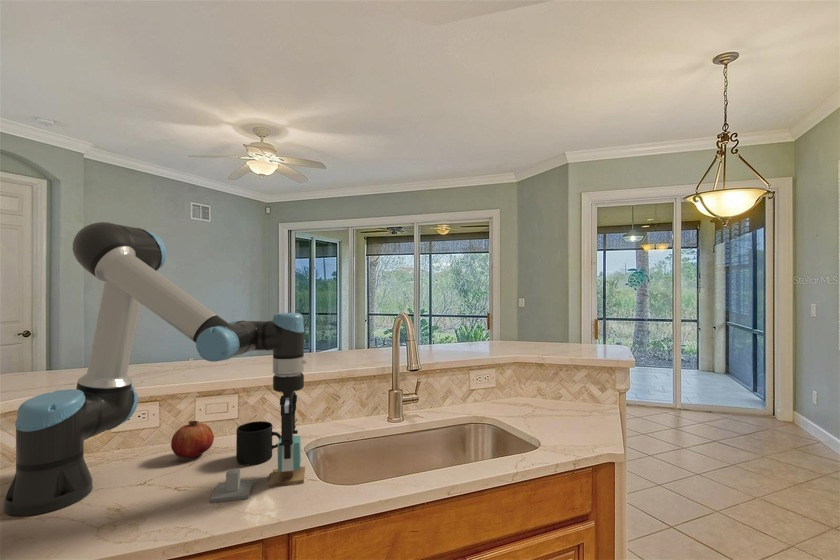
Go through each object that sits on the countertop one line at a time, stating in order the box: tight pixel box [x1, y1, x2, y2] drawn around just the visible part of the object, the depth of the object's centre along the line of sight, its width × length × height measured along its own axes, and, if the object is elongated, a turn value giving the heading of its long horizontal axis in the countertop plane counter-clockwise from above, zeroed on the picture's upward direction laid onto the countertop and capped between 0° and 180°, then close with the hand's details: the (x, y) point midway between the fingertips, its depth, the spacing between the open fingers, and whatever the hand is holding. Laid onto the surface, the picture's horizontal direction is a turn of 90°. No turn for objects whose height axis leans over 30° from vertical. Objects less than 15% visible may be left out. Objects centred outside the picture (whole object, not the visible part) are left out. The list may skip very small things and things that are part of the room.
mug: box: [235, 420, 281, 466], centre depth 119 cm, size 9×12×9 cm
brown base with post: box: [268, 466, 306, 488], centre depth 107 cm, size 8×8×7 cm
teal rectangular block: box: [277, 435, 302, 472], centre depth 107 cm, size 5×5×7 cm
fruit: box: [170, 420, 215, 459], centre depth 120 cm, size 11×10×10 cm
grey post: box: [209, 467, 255, 504], centre depth 99 cm, size 8×8×5 cm
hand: (288, 465), depth 107 cm, fingers closed on teal rectangular block, 5 cm apart
